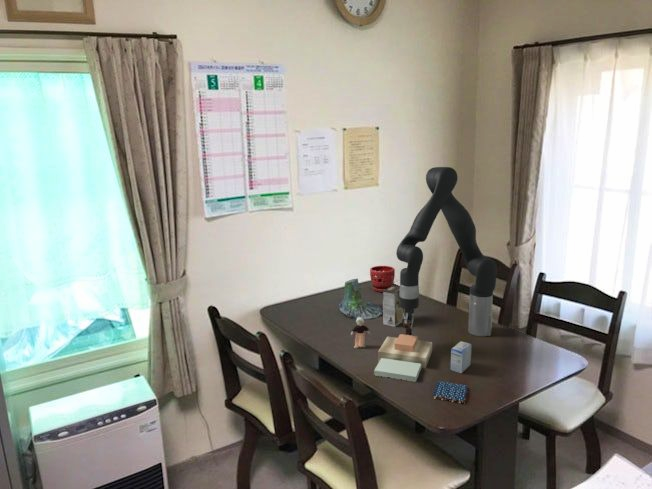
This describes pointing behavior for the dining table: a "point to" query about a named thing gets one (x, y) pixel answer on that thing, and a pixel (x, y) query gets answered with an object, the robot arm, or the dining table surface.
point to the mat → (398, 369)
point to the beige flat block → (406, 352)
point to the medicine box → (460, 357)
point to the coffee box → (392, 307)
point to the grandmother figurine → (360, 333)
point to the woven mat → (450, 392)
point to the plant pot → (382, 277)
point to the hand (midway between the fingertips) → (408, 336)
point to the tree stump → (357, 303)
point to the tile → (406, 343)
